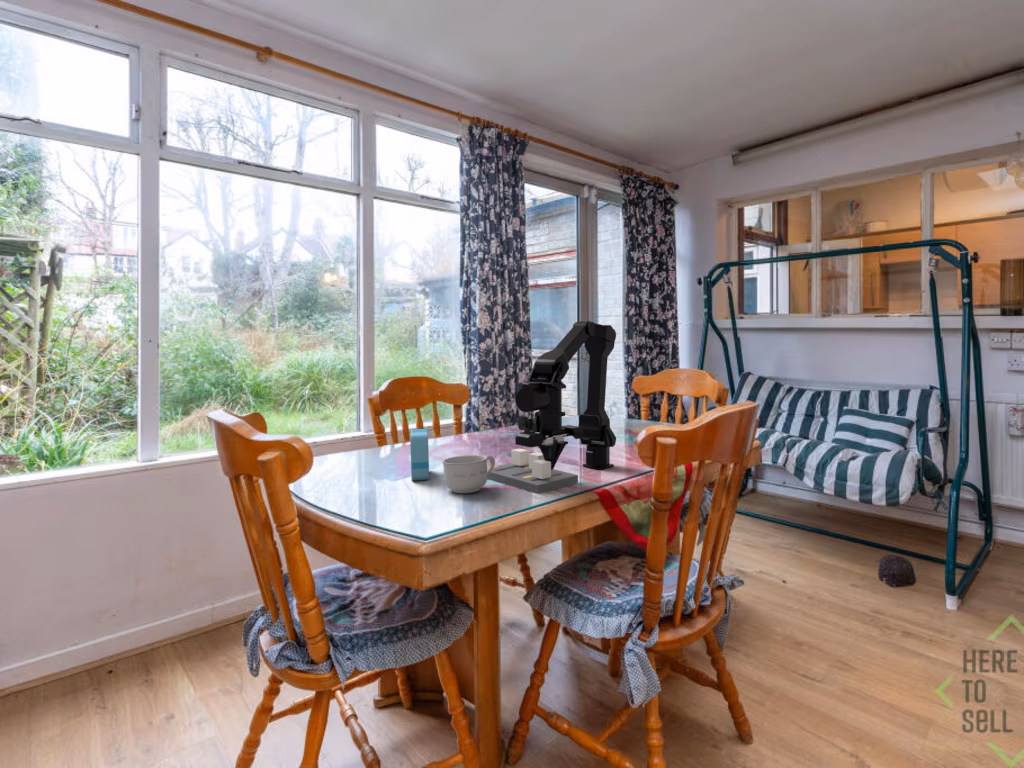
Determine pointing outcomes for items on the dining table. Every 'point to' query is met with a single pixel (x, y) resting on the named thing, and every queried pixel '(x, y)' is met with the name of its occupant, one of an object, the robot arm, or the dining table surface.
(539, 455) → the tab middle
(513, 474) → the switch panel
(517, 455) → the tab
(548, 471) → the tab
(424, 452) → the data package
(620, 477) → the dining table surface
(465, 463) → the teacup
